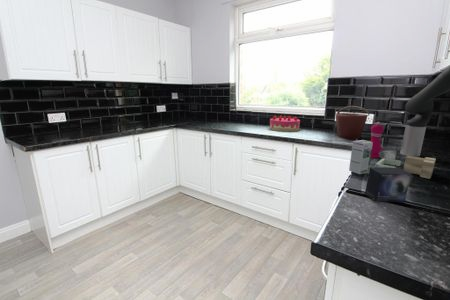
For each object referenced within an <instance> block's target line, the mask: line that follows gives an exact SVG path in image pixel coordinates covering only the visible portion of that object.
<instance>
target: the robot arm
mask: <svg viewBox="0 0 450 300" xmlns="http://www.w3.org/2000/svg"><path fill="white" fill-rule="evenodd" d="M448 92H450V65H448V66H447V67H446V68H445V69H444V70H443V71H442V72H441V73H439V74H438V75H437V76H436V77H435V78H434V79H433V80H432V81H431V82H430V83H428V85H426V86H425V87H424V88H423V89H422V90H420V91H419V92H418V93H416V94H415V95H413V96H412V97H411V98H410V99H408V101H407V102H406V104H405V108H404V110H405V112H406V113H407V114H411V115H415V116H414V117H412V118H411V119H407V120H406V123H405V126H404V127H405V129H404V133H403V138H402V142H401V148H400V152H399V154H400V155H403V156H405V157H406V156H412V157H419V158H420V156H421V151H422V147H423V143H424V140H425V139H424V138H425V135H426V130H427V129H426V128H427V126H428V125H427V124H429V122H430V120H431V116H432V112H433V109H434V100H433V99H434V98H437V97H439V96H441V95H443V94H446V93H448Z"/></svg>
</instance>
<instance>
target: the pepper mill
mask: <svg viewBox="0 0 450 300" xmlns="http://www.w3.org/2000/svg"><path fill="white" fill-rule="evenodd" d="M384 130H385V128H384V126H383V124H382V125H381V122H380V121H377V122H376V123H375V124H373V125H372V126H371V127H370V132H371V134H370V136H371V139H370V140H369V141H370V142H373V145H372V151H371V158H372V159H378V158H380V153H381V152H382V145H381V137H382V136H383V135H382V133H383V132H384ZM371 158H370V159H371Z"/></svg>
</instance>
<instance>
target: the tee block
mask: <svg viewBox="0 0 450 300" xmlns="http://www.w3.org/2000/svg"><path fill="white" fill-rule="evenodd" d="M436 159H437V158H434V157H427V156H426V157H424V158H423V157H420V156H419V157H412V156H406V155H405V161H404V164H403V168H402V170H404V171H406V172H409V173H411V174H414V175H419V177H420V178H425V179H429V180H430V179H431V178H432V176H433V171H434V167H435V163H436Z"/></svg>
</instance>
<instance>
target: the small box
mask: <svg viewBox="0 0 450 300" xmlns="http://www.w3.org/2000/svg"><path fill="white" fill-rule="evenodd" d="M411 177H412V173H409V172H406V171H404V170H403V168H400V167H395V168H389V167H375V166H369V171H368V176H367V179H366V180H367V181H366V185H365V191H364V195H365V196H366V197H368V198H369V199H371V200H372V201H373V202H375V203H380V202H381V203H405V202H406V198H407V194H408V190H409V186H410V182H411Z"/></svg>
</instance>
